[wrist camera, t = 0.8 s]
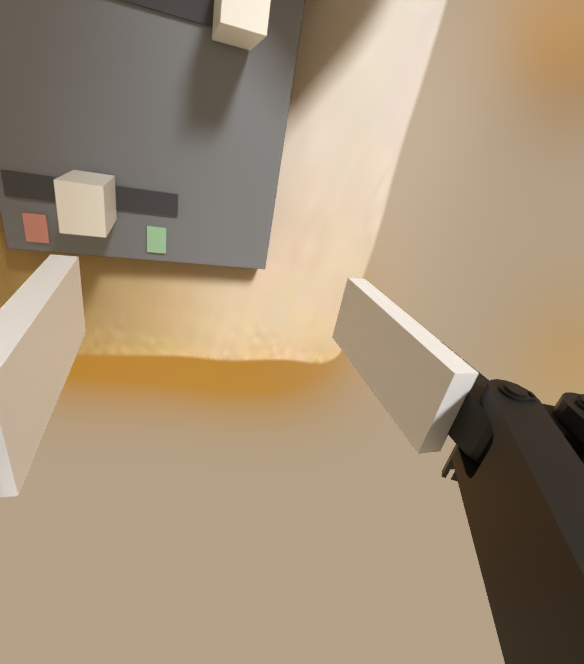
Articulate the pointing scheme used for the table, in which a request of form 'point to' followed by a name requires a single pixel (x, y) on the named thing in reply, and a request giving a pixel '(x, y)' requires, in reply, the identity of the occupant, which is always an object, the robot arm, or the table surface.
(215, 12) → the knob
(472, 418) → the robot arm
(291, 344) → the table surface
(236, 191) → the switch panel
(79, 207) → the knob
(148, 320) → the table surface
